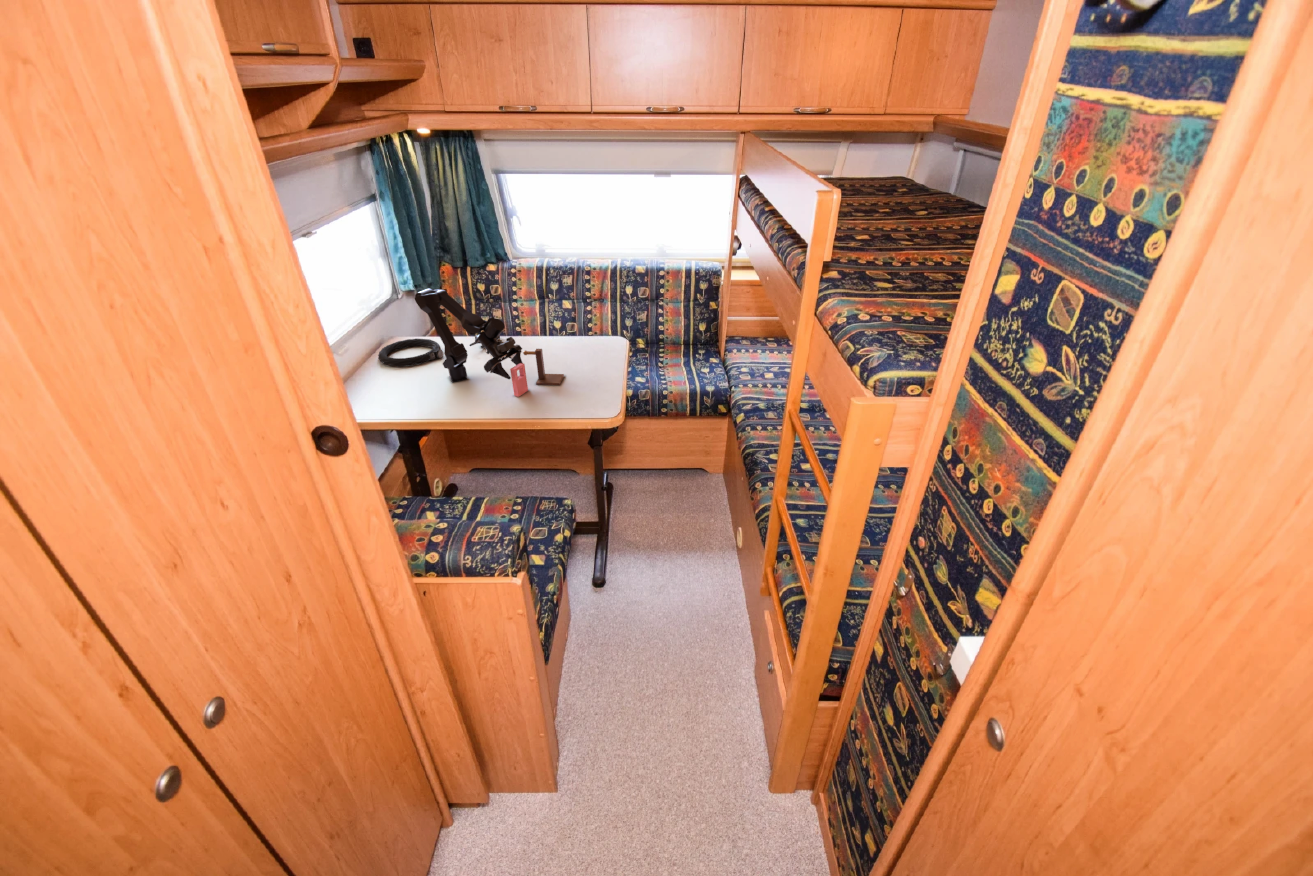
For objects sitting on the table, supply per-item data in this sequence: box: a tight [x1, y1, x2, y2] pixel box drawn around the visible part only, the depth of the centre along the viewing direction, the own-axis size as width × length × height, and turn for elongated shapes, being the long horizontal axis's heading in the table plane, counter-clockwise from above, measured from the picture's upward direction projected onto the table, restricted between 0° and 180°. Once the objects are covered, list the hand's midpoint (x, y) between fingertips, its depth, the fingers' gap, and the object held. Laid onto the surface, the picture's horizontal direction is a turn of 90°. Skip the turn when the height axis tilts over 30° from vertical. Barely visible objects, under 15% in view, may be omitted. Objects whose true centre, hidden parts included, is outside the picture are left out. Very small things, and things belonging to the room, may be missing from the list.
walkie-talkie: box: [469, 334, 501, 349], centre depth 281 cm, size 6×6×20 cm
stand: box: [522, 348, 565, 386], centre depth 246 cm, size 15×9×14 cm, turn 86°
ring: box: [377, 338, 444, 367], centre depth 273 cm, size 28×4×30 cm
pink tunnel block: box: [509, 362, 529, 398], centre depth 236 cm, size 2×6×12 cm, turn 154°
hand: (517, 374), depth 235 cm, fingers open, 9 cm apart
